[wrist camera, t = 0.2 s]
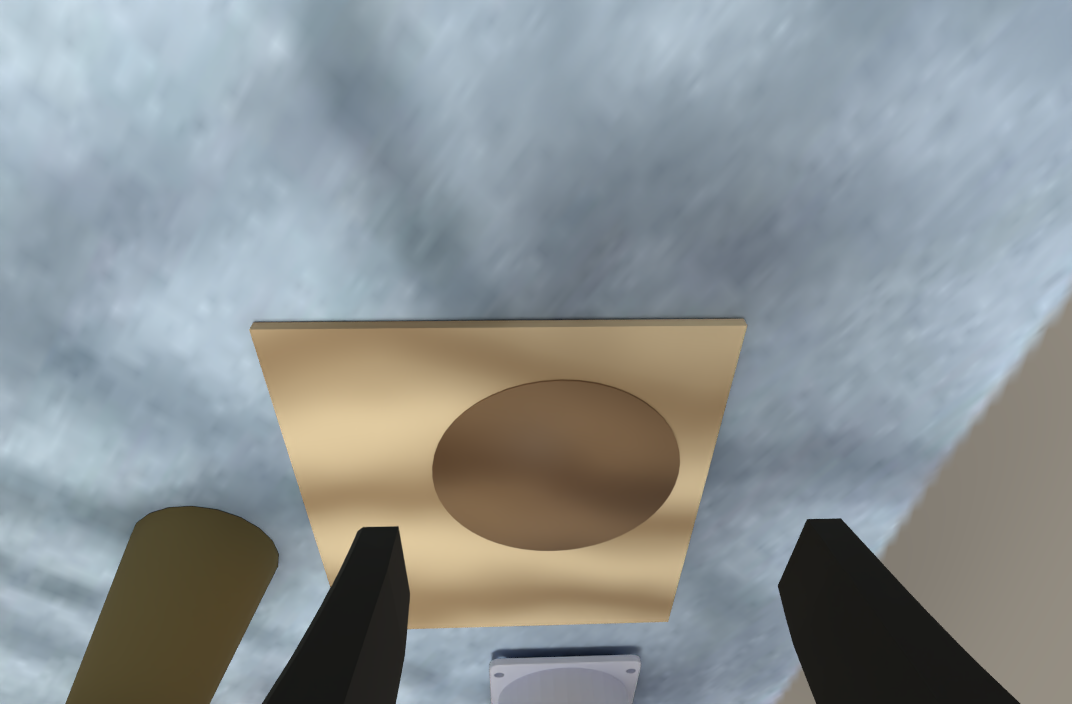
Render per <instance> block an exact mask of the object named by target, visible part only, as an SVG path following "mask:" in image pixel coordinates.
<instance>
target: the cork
mask: <svg viewBox="0 0 1072 704" xmlns="http://www.w3.org/2000/svg"><path fill="white" fill-rule="evenodd" d="M278 556H279V554H278V552H277V550H276V548H275V545H274V543H273V541H272V540H271V539H270V538H269V537H268V536H267V535H266V534H265V533H264V532H263V531H262V530H261V529H259V528H258V527H256V526H254V525H253V524H251V523H249V522H247V521H246V520H244V519H242V518H240V517H237V516H234V515H231V514H228V513H225V512H222V511H219V510H215V509H208V508H201V507H193V506H189V507H171V508H166V509H163V510H159V511H156V512H153V513H149V514H148V515H147V516H145V517H144V518H143V519H141V520H140V521H139V522H137V523H136V525H135V527H134V529H133V532H132V534H131V536H130V539H129V541H128V544H127V546H126V549H125V552H124V554H123V557H122V559H121V562H120V564H119V567H118V570H117V572H116V575H115V577H114V580H113V582H112V585H111V588H110V590H109V593H108V595H107V598H106V601H105V603H104V606H103V608H102V611H101V613H100V616H99V619H98V621H97V624H96V626H95V629H94V631H93V634H92V637H91V639H90V642H89V644H88V647H87V649H86V652H85V655H84V657H83V660H82V662H81V665H80V668H79V670H78V673H77V675H76V678H75V680H74V683H73V686H72V688H71V691H70V693H69V696H68V698H67V701H66V704H210V702H211V700H212V698H213V696H214V694H215V692H216V690H217V688H218V686H219V684H220V682H221V680H222V678H223V676H224V674H225V672H226V670H227V668H228V666H229V664H230V662H231V660H232V658H233V656H234V654H235V652H236V650H237V648H238V646H239V644H240V642H241V640H242V638H243V636H244V634H245V632H246V630H247V628H248V626H249V624H250V622H251V620H252V618H253V616H254V614H255V612H256V610H257V607H258V605H259V603H260V601H261V599H262V597H263V595H264V593H265V591H266V589H267V587H268V585H269V583H270V581H271V579H272V577H273V575H274V573H275V571H276V569H277V567H278Z"/></svg>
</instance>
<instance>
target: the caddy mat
mask: <svg viewBox="0 0 1072 704" xmlns="http://www.w3.org/2000/svg"><path fill="white" fill-rule="evenodd" d="M746 328H747V324H746V322H745V320H744V319H638V320H507V321H375V322H253V324H252V326H251V327H250V329H249V330H250V333H251V337H252V340H253V343H254V346H255V349H256V352H257V356H258V359H259V362H260V365H261V368H262V371H263V375H264V378H265V381H266V384H267V387H268V390H269V394H270V397H271V400H272V403H273V406H274V409H275V413H276V416H277V419H278V422H279V425H280V428H281V432H282V435H283V438H284V441H285V444H286V448H287V451H288V454H289V457H290V460H291V463H292V467H293V470H294V473H295V476H296V479H297V482H298V486H299V489H300V492H301V495H302V498H303V501H304V505H305V508H306V511H307V514H308V517H309V520H310V524H311V527H312V530H313V533H314V536H315V539H316V543H317V546H318V549H319V552H320V555H321V558H322V562H323V565H324V568H325V571H326V574H327V578H328V581H329V584H330V587H331V586H332V584H333V582H334V580H335V578H336V576H337V574H338V572H339V570H340V568H341V566H342V564H343V562H344V560H345V558H346V556H347V554H348V551H349V549H350V547H351V545H352V543H353V540H354V538H355V536H356V533H357V531H358V530H360V529H361V528H362V527H388V526H399V531H400V537H401V543H402V549H403V555H404V560H405V566H406V572H407V578H408V584H409V589H410V603H409V615H408V627H407V629H426V628H462V627H498V626H534V625H570V624H606V623H642V622H668V620H669V616H670V612H671V609H672V605H673V601H674V597H675V594H676V590H677V586H678V582H679V579H680V575H681V571H682V567H683V564H684V560H685V556H686V553H687V549H688V545H689V541H690V538H691V534H692V530H693V526H694V523H695V519H696V515H697V511H698V508H699V504H700V500H701V496H702V493H703V489H704V485H705V482H706V478H707V474H708V470H709V467H710V463H711V459H712V455H713V452H714V448H715V444H716V440H717V437H718V433H719V429H720V425H721V422H722V418H723V414H724V411H725V407H726V403H727V399H728V396H729V392H730V388H731V384H732V381H733V377H734V373H735V369H736V366H737V362H738V358H739V354H740V351H741V347H742V343H743V340H744V336H745V332H746Z"/></svg>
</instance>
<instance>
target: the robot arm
mask: <svg viewBox="0 0 1072 704" xmlns="http://www.w3.org/2000/svg"><path fill="white" fill-rule="evenodd" d="M778 588H779V592H780V596H781V600H782V604H783V608H784V612H785V616H786V620H787V624H788V627H789V631H790V634H791V638H792V641H793V645H794V647H795V650H796V653H797V655H798V658H799V661H800V663H801V666H802V668H803V671H804V673H805V676H806V678H807V681H808V683H809V686H810V689H811V691H812V694H813V696H814V699H815V701H816V704H1020V703H1019V702H1018V701H1017V700H1016V699H1015V698H1014V697H1013V696H1012V695H1011V694H1010V693H1008V691H1007V690H1005V689H1004V688H1003V687H1002V686H1001V685H1000V684H999V683H998V682H997V681H996V680H995V679H994V678H993V677H992V676H991V675H990V674H989V673H988V672H987V671H986V670H984V669H983V668H982V667H981V666H980V665H979V664H978V663H977V662H976V661H975V660H974V659H973V658H972V657H971V656H970V655H969V654H968V653H967V652H966V651H965V650H964V649H963V648H962V647H961V646H960V645H959V644H958V643H957V642H956V641H955V640H954V639H953V638H952V637H951V636H950V634H948V632H947V631H945V630H944V629H943V627H942V626H941V625H940V624H939V623H938V622H937V621H936V620H935V619H934V618H933V617H932V616H931V615H930V614H929V613H928V612H927V611H926V610H925V609H924V608H923V607H922V606H921V605H920V603H919V602H918V601H917V600H916V599H915V598H914V597H913V596H912V595H911V594H910V593H909V592H908V591H907V590H906V589H905V587H903V586H902V584H901V583H900V582H899V581H898V580H897V579H896V578H895V577H894V576H893V575H892V574H891V572H890V571H889V570H888V569H887V568H886V567H885V566H884V565H883V564H882V563H881V562H880V560H879V559H878V558H877V557H876V556H875V555H874V554H873V553H872V552H871V551H870V550H869V548H868V547H867V546H866V545H865V544H864V543H863V542H862V541H861V540H860V539H859V538H858V537H857V535H856V534H855V533H854V532H853V531H852V530H851V529H850V528H849V527H848V526H847V525H846V524H845V522H844V521H843V520H842V519H807V521H806V523H805V525H804V528H803V530H802V532H801V534H800V537H799V539H798V541H797V544H796V546H795V548H794V550H793V553H792V555H791V557H790V559H789V562H788V564H787V566H786V568H785V571H784V573H783V575H782V578H781V580H780V582H779V584H778ZM409 603H410V589H409V584H408V578H407V572H406V566H405V560H404V555H403V549H402V543H401V537H400V531H399V526H388V527H362V528H361V529H360V530H358V531H357V533H356V536H355V538H354V540H353V543H352V545H351V547H350V549H349V551H348V554H347V556H346V558H345V560H344V562H343V564H342V566H341V568H340V570H339V572H338V574H337V576H336V578H335V580H334V582H333V584H332V586H331V588H330V590H329V591H328V593H327V595H326V597H325V599H324V601H323V603H322V605H321V607H320V608H319V610H318V612H317V614H316V615H315V617H314V619H313V621H312V622H311V624H310V626H309V628H308V629H307V631H306V633H305V635H304V636H303V638H302V640H301V642H300V643H299V645H298V647H297V648H296V650H295V652H294V654H293V655H292V657H291V659H290V660H289V662H288V663H287V665H286V667H285V668H284V670H283V671H282V673H281V675H280V676H279V678H278V679H277V681H276V682H275V684H274V685H273V687H272V689H271V690H270V692H269V693H268V695H267V696H266V698H265V700H264V701H263V703H262V704H396V699H397V694H398V689H399V683H400V678H401V673H402V667H403V662H404V656H405V648H406V637H407V627H408V615H409ZM640 668H641V661H640V657H639V656H637V655H603V656H569V657H536V658H502V659H494V660H492V661H491V662H490V664H489V672H490V690H491V704H632V702H633V698H634V693H635V689H636V685H637V681H638V677H639V673H640Z"/></svg>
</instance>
